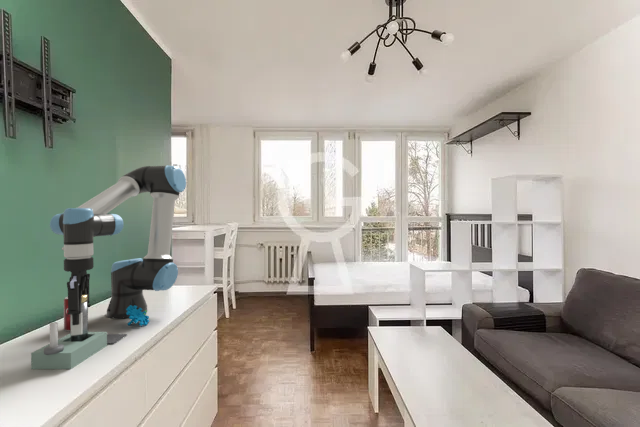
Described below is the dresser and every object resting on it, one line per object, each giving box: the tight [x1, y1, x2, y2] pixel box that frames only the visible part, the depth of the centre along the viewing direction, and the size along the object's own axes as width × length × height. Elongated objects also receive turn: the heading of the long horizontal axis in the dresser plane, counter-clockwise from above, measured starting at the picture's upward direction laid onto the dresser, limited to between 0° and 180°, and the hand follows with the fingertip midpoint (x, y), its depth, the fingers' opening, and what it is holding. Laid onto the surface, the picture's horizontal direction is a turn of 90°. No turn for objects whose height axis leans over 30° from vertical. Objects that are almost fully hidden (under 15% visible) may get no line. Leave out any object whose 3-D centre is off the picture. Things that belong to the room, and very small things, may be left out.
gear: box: [126, 305, 150, 327], centre depth 128 cm, size 11×6×10 cm
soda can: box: [63, 296, 71, 332], centre depth 124 cm, size 7×7×12 cm
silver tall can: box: [70, 294, 89, 342], centre depth 103 cm, size 4×4×16 cm
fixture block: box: [30, 321, 108, 370], centre depth 100 cm, size 17×11×12 cm, turn 1°
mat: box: [107, 333, 128, 345], centre depth 113 cm, size 8×8×1 cm
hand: (79, 331), depth 104 cm, fingers closed on silver tall can, 4 cm apart
